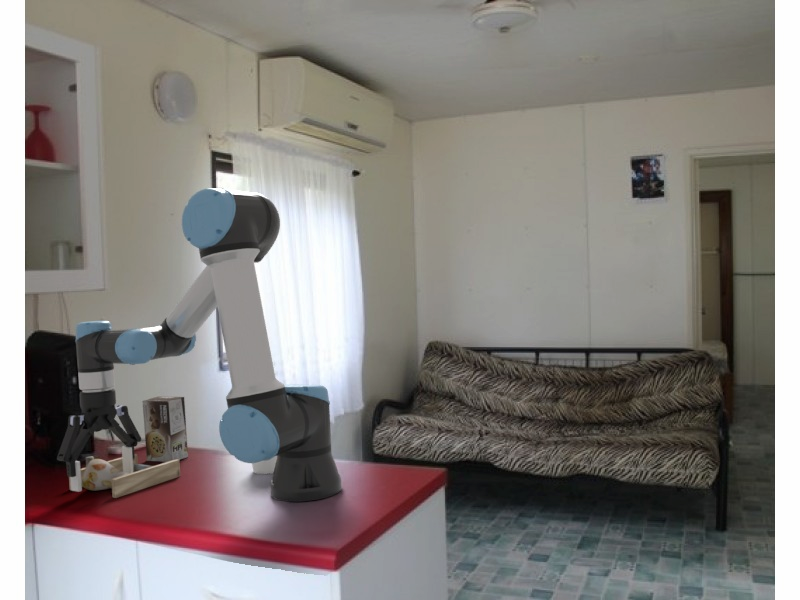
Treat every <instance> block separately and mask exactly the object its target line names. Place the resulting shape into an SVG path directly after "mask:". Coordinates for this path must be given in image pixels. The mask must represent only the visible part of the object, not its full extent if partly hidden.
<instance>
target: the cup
mask: <svg viewBox="0 0 800 600" xmlns="http://www.w3.org/2000/svg"><path fill="white" fill-rule="evenodd" d="M276 461H277V456H274V457H273V458H271V459H270V460H267V461H261V462H257V463H251V466H252V471H253V473H255V474H257V473H258V475H268V474H269V473H270V474H273V473H274V468H275V465H276ZM270 474H269V475H270Z"/></svg>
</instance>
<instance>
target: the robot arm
mask: <svg viewBox="0 0 800 600" xmlns="http://www.w3.org/2000/svg"><path fill="white" fill-rule="evenodd" d="M181 229H182V233H183V235H184V237H185V239H186V241H188V242H189V243H190V244H191V246H194V247H195V248H197V249H198V252H199V257H200V262H201V263H202V264H204V265H206V266H205V267H204V269H203V270H202V271H201V272H200V274H199V275H198V277H197V278H196V279H195V280H194V282H193V283H192V284H191V285H190V286H189V288H188V289H187V290H186V291H185V293H184V294H183V296H182V297H181V298H180V299H179V301H178V302H177V304H176V305H175V306H174V307H173V308H172V310H171V311H170V312H169V313H168V315H167V316H166V317H165V318H164V319H163V321H162V322H161V324H159V325H153V326H146V327H138V328H129V329H127V328H126V329H113V328H112V323H111V322H110V320H109V321H108V320H94V321H93V320H91V321H82V322H79V323H77V324H76V326H75V340H74V342H75V348H76V350H75V351H76V361H77V371H78V376H77V377H78V388H79V390H81V391H80V392H79V406H80V409H81V414H80V415H69V416H68V419H67V428H66V431H65V435H64V437H63V439H62V442H61V445H60V447H59V450H58V452H57V453H58V454H57V456H56V460H57V461H59V462H65V466H66V476H67V477H68V478H69V477H70V481H71V490H70V491H72V492H76V493H77V492H78V493H79V492H82V491H83V487H82V485H81V470H80V469H81V461H80V460H78V458H79V456H80V454H82V451H83V450H84V448H85V446H86V444H87V443H88V441H89V439H90V438H91V436H93V435H94V433H95V432H96V433H97V432H100V431H103V430H105V431H106V430H110V432H112V433H113V434H114V435H115V436H116V437H117V438H118V440H119V441H120V442H121V443H123V444H124V445H123V446H121V457H122V461H123V472H126V473H128V474H130V473H133V459H134V458H135V454H136V452H135V447H137V446H138V443H140V442H141V441H142V437H141V435H140V432H139V431H138V430H137V428H136V426H135V423H134V421H133V419H132V418H131V416H130V415H129V409H128V406H127V405H119V404H118V405H117V406H116V403H117V397H116V390H115V385H116V379H115V364H118V365H119V364H121V365H122V364H123V365H125V364H126V365H130V366H131V365H132V366H135V365H140V364H141V365H143V364H146V363H148V362H150V361H153V360H158V359H164V358H171V357H180V356H182V355H185V354H189V353H190V352H191V351H193V349H194V348H195V344H196V342H197V336H196V335H197V332H198V331H199V330H200V328H201V327H202V326H203V325H204V324H205V322H206V321H207V320H208V319H209V317H210V316H211V315H212V314H213V313H214V312H215V310H216V309H217V311H218V316H219V321H220V328H221V334H222V339H223V344H224V350H225V356H226V361H227V366H228V372H229V378H230V383H231V388H230V390H229V391H228V393H227V394H226V396H225V400H226V405H227V409H226V410H225V411H224V412H223V413H222V416H221V419H220V420H219V425H218V431H219V437H220V441H221V442H222V445H223V446H224V448H225V449H226V451H227V452H228V453H229V455H231V456H234V458H235V459H236V460H238V461H240V462H242V463H247V464H252V463H257V462H261V461H267V460H270V459H271V458H273V457H274V456H277V461H276V465H275V468H274V473H272V477H271V481H270V486H269V487H270V488H269V489H270V496H271V497H272V498H274V499H275V500H279V501H284V502H308V501H309V502H312V501H317V500H321V499H326V498H330V497H333V496H334V495H337V494H339V493H340V492H341V491H342V476H341V474H340V473H339V470H338V467H337V463H336V462H335V458H334V456H333V451H332V436H331V434H332V433H331V414H330V413H331V411H330V405H331V402H330V399H329V391H328V389H327V387H326V386H324V385H322V384H321V385H320V384H285V383H282V382H281V381H279V380H278V379H277V378H276V373H275V369H274V364H273V358H272V353H271V346H270V341H269V336H268V330H267V325H266V319H265V315H264V309H263V304H262V299H261V293H260V287H259V282H258V275H257V272H256V267H255V264H256V263H257V264H259V263H260V262H261V261H263V259H264V258H265V256H266V255H267V254H269V252H270V250H271V249H272V248H273V246H274V245H275V243H276V241H277V238H278V236H279V233H280V230H281V218H280V214H279V211H278V209H277V207H276V205H275V204H274V202H273V201H271V200H270V199H269V198H268V197H266V196H265V195H263V194H261V193H258V192H253V191H252V192H251V191H241V190H235V189H227V188H225V187H217V188H211V187H207V188H203V189H200V190H198V191H197V192H195V193H194V194H193V195H192V196H190V198H189V199H188V202H187V204H186V205H185V206H184V209H183V211H182V217H181ZM116 417H117V418H118V419H119V422H120V423H121V425H122V426H123V427H121V426H120V423H119V422H118V421H117V420H116ZM82 423H83V424H82ZM81 425H82V426H81Z"/></svg>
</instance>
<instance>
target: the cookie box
mask: <svg viewBox="0 0 800 600" xmlns="http://www.w3.org/2000/svg"><path fill="white" fill-rule="evenodd" d="M141 403H142V414H143V429H144V440H145V442H144V443H145V456H146V461H147V462H162V463H165V462H169V461H172V460H175V459H177V460H179V461H180V460H184V459H186V458H188V457H189V453H188V452H189V451H188V437H187V436H188V435H187V423H186V422H187V421H186V420H187V419H186V418H187V417H186V405H185V403H186V402H185V396H156V397H150V398H148V399H144V400H142V402H141Z"/></svg>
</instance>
